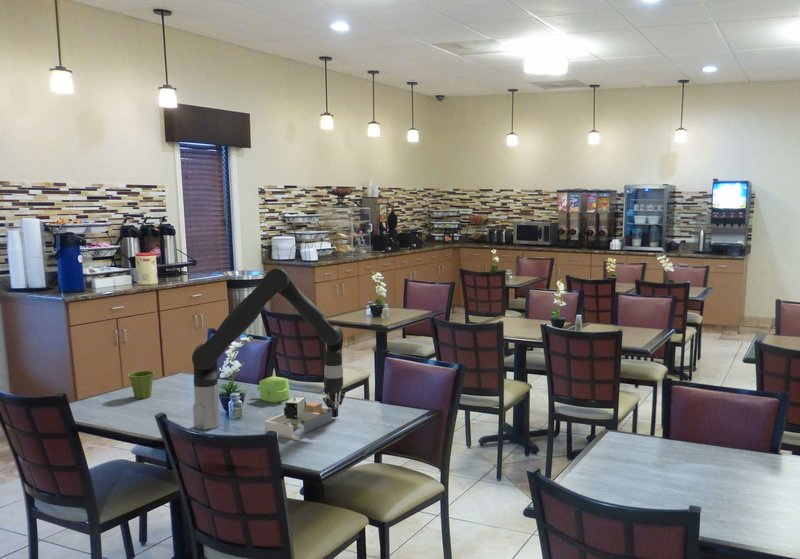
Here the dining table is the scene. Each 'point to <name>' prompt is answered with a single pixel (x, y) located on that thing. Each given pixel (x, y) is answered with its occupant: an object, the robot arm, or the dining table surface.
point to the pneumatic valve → (295, 410)
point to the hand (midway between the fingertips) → (334, 416)
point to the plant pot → (142, 383)
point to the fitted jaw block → (314, 407)
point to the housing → (287, 430)
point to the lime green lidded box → (274, 389)
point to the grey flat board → (318, 421)
